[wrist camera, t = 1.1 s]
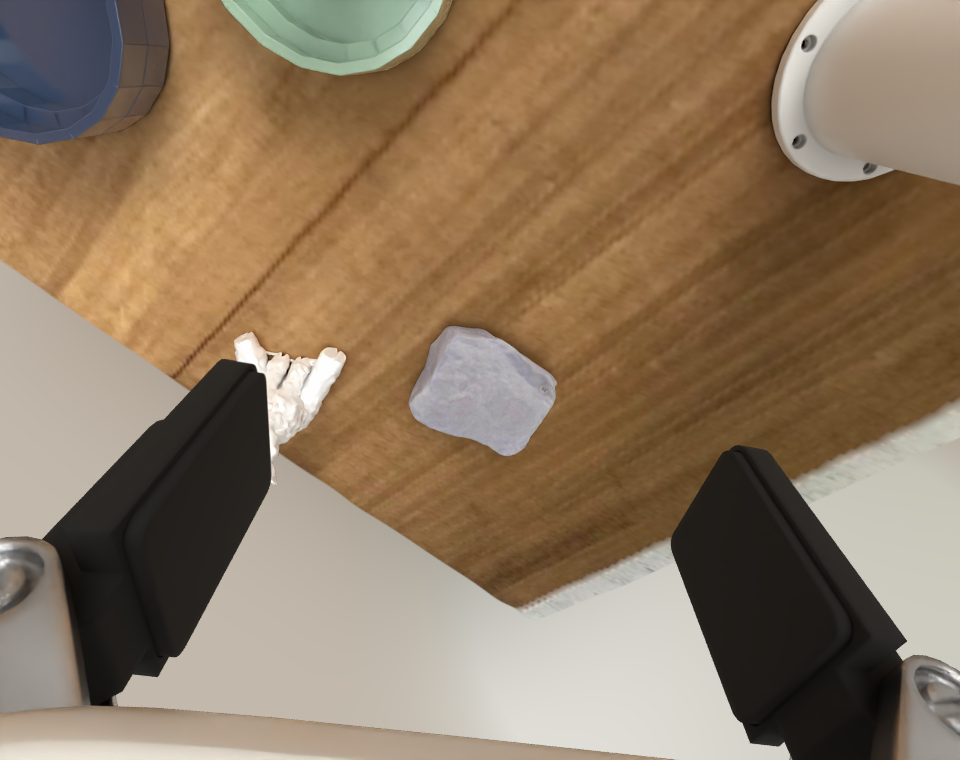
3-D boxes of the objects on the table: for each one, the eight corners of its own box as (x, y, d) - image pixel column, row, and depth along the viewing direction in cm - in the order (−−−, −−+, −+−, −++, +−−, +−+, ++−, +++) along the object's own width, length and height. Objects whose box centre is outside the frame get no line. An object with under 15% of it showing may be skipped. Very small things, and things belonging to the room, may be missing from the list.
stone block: (447, 305, 42) (403, 400, 45) (448, 320, 38) (400, 425, 41) (563, 356, 45) (515, 442, 48) (577, 375, 41) (523, 469, 44)
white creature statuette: (349, 347, 43) (304, 432, 33) (345, 422, 47) (304, 518, 37) (239, 327, 42) (159, 409, 32) (246, 406, 47) (178, 499, 37)
